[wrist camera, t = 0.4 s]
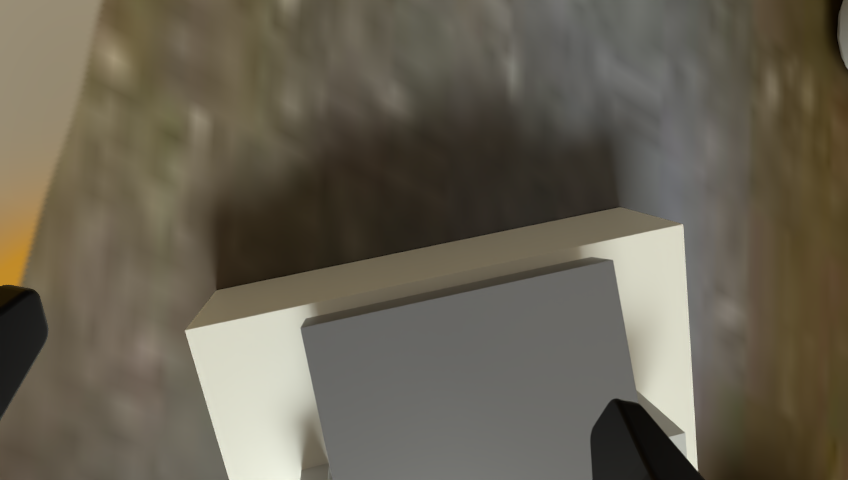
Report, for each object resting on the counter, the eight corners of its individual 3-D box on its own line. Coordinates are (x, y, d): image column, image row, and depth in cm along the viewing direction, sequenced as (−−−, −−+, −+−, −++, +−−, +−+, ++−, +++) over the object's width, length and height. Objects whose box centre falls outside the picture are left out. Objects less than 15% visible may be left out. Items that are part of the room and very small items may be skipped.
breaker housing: (643, 472, 27) (759, 602, 20) (292, 566, 25) (272, 752, 17) (620, 207, 24) (747, 241, 16) (216, 290, 22) (151, 373, 14)
